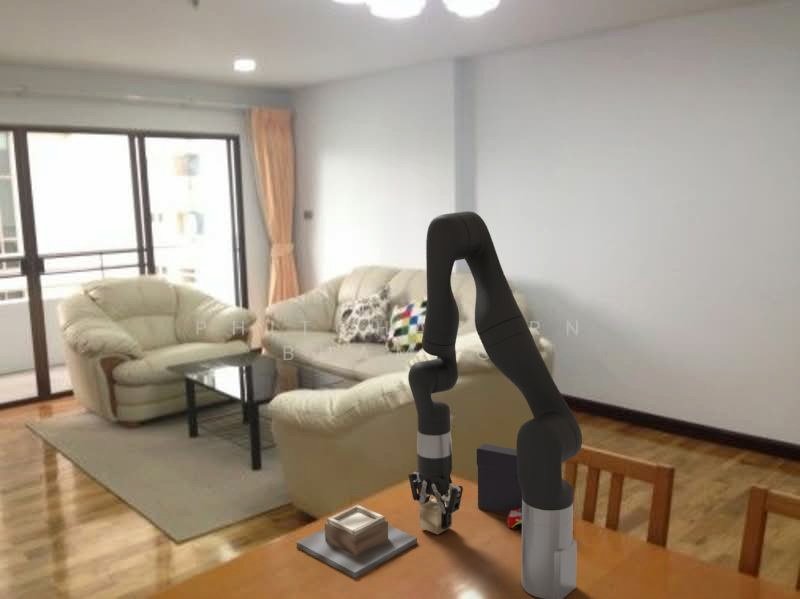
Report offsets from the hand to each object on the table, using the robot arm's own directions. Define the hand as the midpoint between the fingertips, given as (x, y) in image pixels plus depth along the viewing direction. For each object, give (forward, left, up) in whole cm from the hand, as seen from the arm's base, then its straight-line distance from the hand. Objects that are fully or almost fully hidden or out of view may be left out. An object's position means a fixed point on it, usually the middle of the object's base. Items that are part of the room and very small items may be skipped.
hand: (435, 523), depth 153 cm
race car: (-16, -16, -2) cm, 22 cm away
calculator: (-6, -17, -2) cm, 18 cm away
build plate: (+8, +16, -1) cm, 18 cm away
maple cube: (0, 0, -1) cm, 1 cm away
